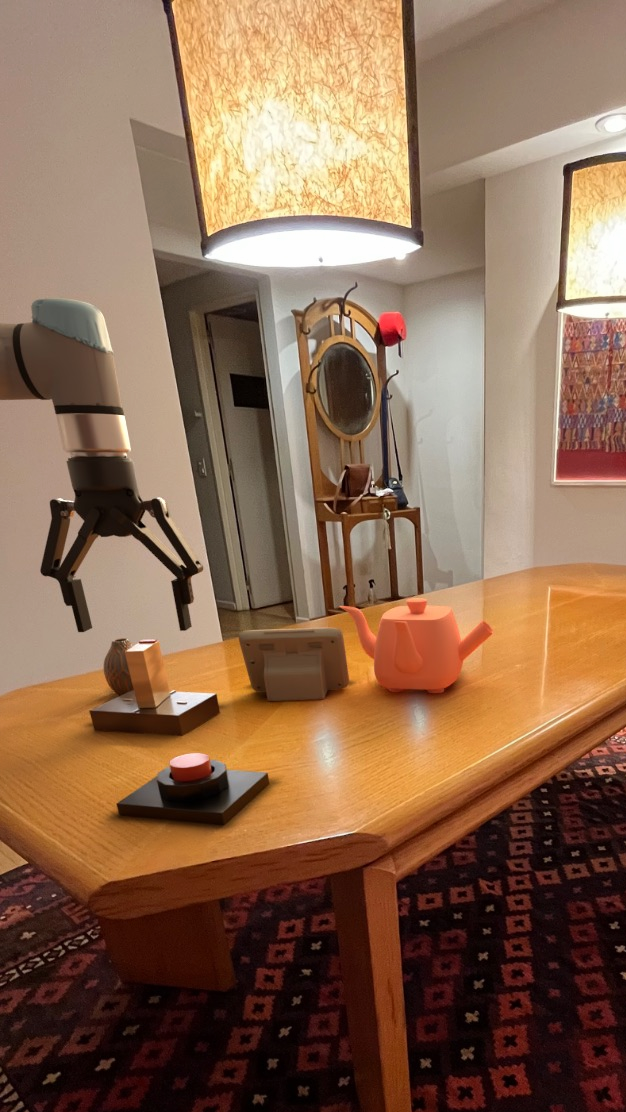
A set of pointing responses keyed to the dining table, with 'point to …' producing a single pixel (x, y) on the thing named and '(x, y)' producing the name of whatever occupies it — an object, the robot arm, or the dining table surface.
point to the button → (190, 767)
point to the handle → (147, 673)
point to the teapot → (417, 645)
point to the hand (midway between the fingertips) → (135, 629)
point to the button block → (195, 796)
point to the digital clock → (295, 662)
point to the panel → (156, 714)
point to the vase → (118, 667)
